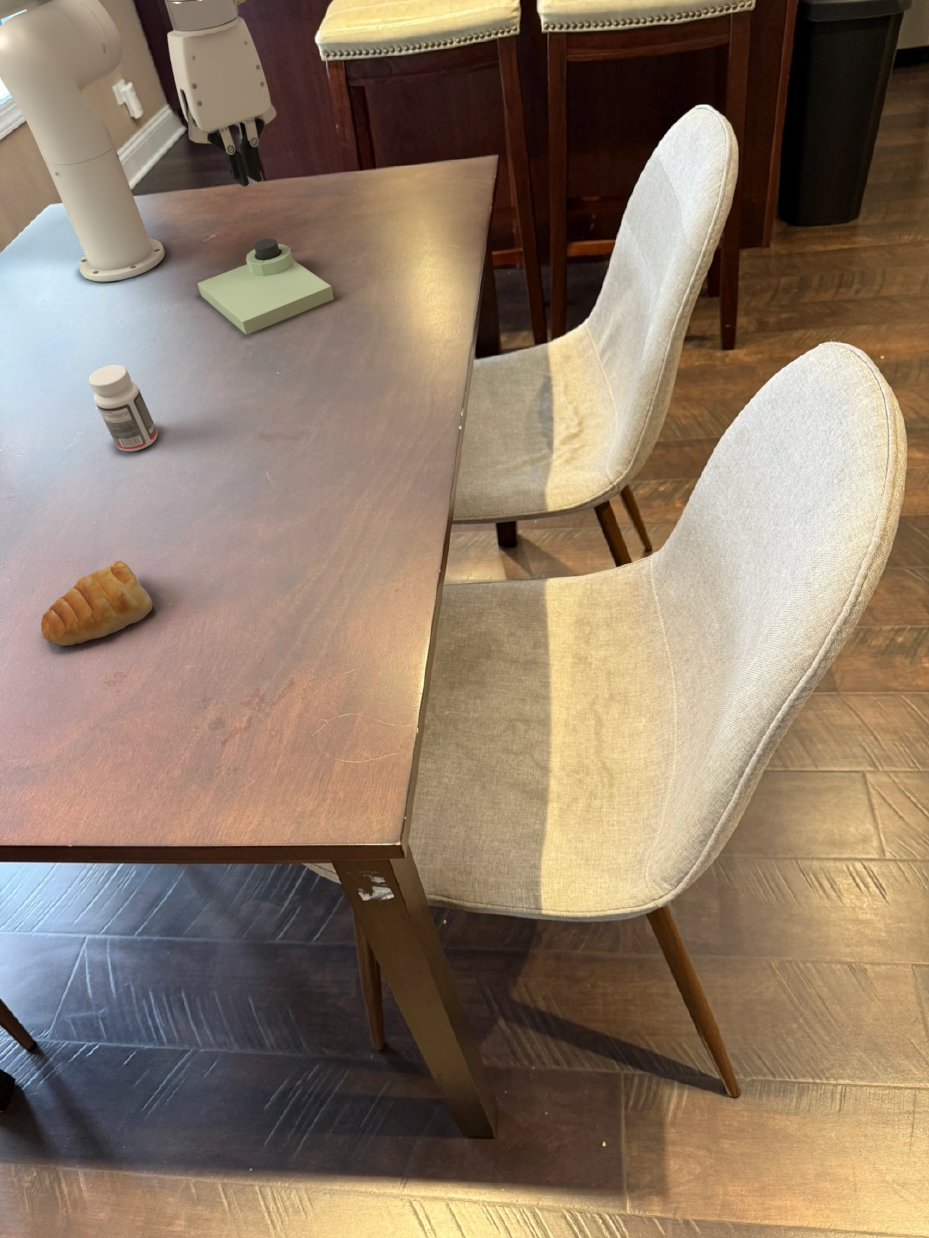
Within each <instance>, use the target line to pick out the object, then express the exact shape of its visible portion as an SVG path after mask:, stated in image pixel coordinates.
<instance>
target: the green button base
mask: <svg viewBox="0 0 929 1238" xmlns="http://www.w3.org/2000/svg"><path fill="white" fill-rule="evenodd" d="M278 247H279V251H280V255H279V256H278V257H276V258H273V259H270V260H258V259H257V255H256V252H255V248H253V249H252V250H251V251H249V252H248V253H247V254H246V257H245V261H246V264H244V265H241V266H238V267H236V268H234V269H231V270H227V271H225V272H223V273H221V274H217V275H215V276H213V277H209V278H208V279H205V280H202V281H199V282H197V283H196V284H197V287H198V290H199V293H200V296H201V297H202V298H203V299H205V300H206V301H207V302H208V303H209V304H210V305H211V306H213V308H215V310H217V311H218V312H219V313H221V314H222V315H223V316H224V317H225V318H226V319H227V320H228V321H230V322H231V323H232V324H233V325H234V326H235V327H237V328H238V329H239V330H240V331H241V332H243V334H245V335H246V336H247V335H251V334H252V333H255V332H258V331H260V330H262V329H265V328H267V327H270V326H272V325H274V324H277V323H280V322H282V321H284V320H286V319H289V318H291V317H294V316H296V315H299V314H301V313H304V312H306V311H308V310H311V309H314V308H317V307H318V306H321V305H323V304H326V303H328V302H330V301H333V300H335V297H334V293H333V288H332V285H330V284H329V283H327V282H326V281H324V279H322V278H321V277H318V276H317V275H316V274H315V273H313V272H311V271H310V270H308V268H305V267H304V266H303V265H302V264H300V263H298V262H297V261H296V260H294V257H293V253H292V249H291V247H290V246H288V245H286V244H282V243H278Z"/></svg>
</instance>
